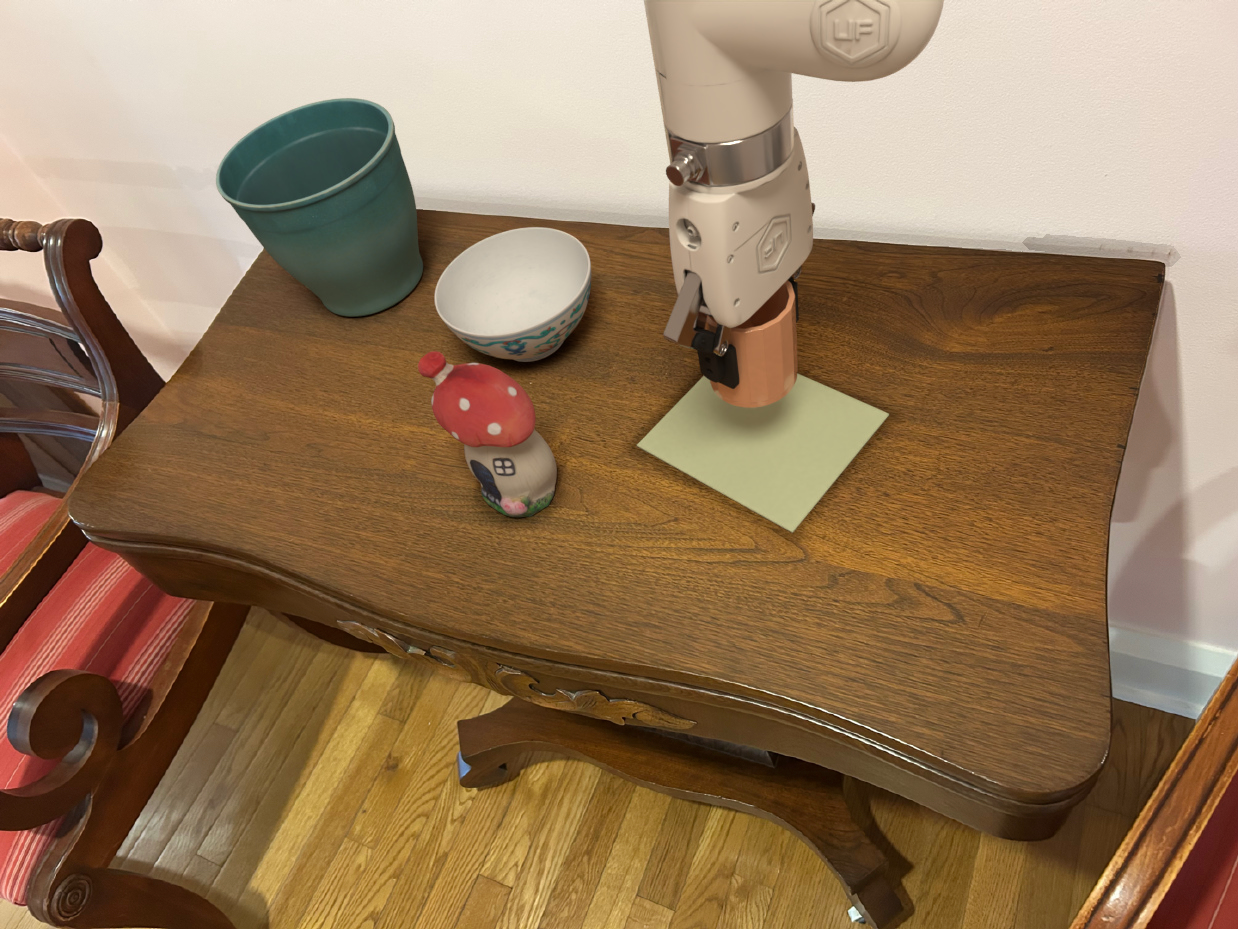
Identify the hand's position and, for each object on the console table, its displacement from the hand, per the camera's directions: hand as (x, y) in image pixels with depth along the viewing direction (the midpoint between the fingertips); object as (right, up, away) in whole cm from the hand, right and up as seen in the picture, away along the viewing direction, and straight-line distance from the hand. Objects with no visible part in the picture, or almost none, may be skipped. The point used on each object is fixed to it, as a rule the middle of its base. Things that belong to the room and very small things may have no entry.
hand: (750, 346), depth 65 cm
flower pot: (-37, +11, +32) cm, 50 cm away
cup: (+1, -2, +2) cm, 3 cm away
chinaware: (-18, +4, +21) cm, 28 cm away
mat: (+2, -6, +8) cm, 10 cm away
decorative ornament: (-19, -11, +9) cm, 24 cm away
